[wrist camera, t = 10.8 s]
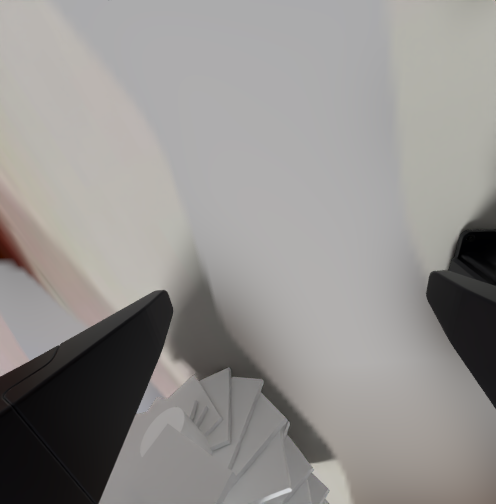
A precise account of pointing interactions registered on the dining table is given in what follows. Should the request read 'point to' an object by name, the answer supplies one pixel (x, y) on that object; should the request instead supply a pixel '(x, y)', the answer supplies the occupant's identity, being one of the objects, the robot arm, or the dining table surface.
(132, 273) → the dining table surface
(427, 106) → the dining table surface
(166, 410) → the spiral staircase
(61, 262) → the dining table surface
